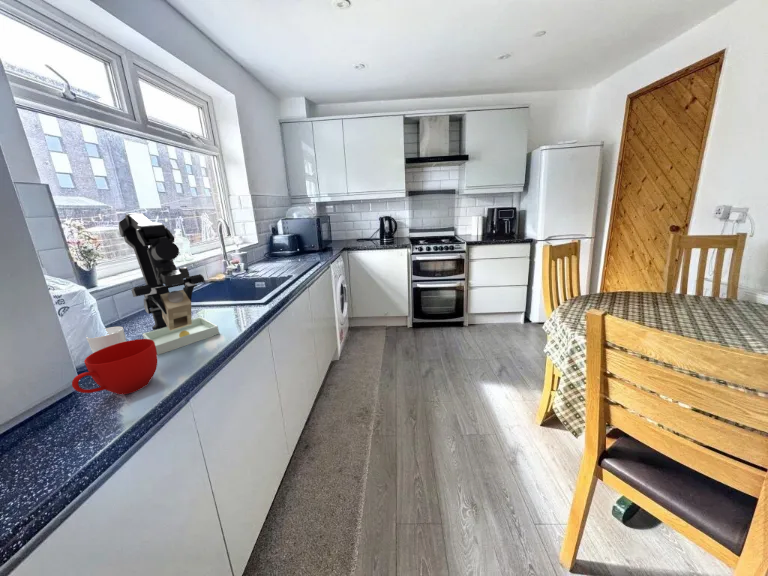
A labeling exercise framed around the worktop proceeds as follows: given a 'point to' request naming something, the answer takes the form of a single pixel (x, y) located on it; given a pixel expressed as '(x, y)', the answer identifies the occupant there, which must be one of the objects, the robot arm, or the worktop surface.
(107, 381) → the ceramic cup
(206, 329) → the tray
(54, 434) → the worktop surface
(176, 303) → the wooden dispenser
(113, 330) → the white cup
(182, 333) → the ball
